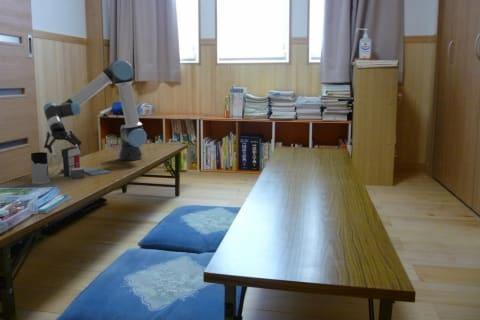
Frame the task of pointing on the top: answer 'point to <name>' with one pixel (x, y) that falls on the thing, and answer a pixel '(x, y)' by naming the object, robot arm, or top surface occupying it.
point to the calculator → (70, 160)
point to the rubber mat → (96, 171)
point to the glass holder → (40, 168)
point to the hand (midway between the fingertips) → (67, 155)
